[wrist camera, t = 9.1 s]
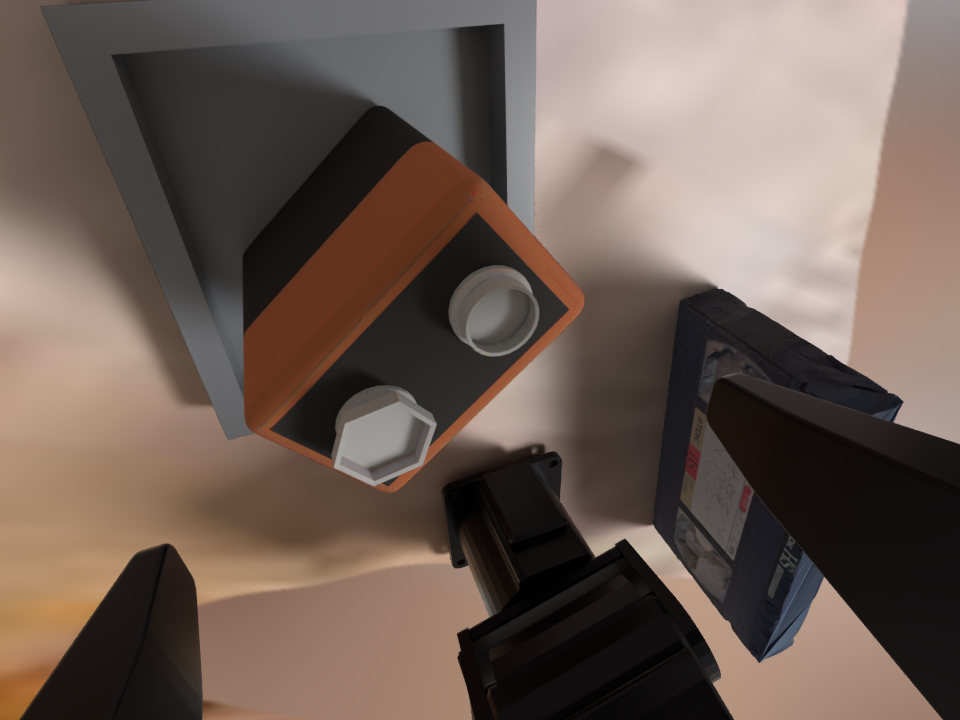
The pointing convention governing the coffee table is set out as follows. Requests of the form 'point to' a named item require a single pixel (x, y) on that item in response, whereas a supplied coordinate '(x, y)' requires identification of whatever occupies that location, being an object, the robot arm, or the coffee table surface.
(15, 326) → the coffee table surface
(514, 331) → the battery
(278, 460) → the coffee table surface
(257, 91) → the tray
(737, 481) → the vhs cassette tape
